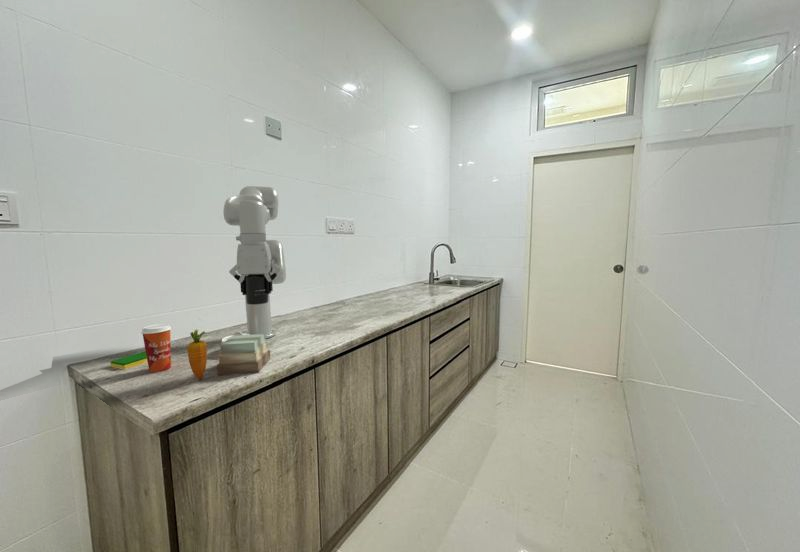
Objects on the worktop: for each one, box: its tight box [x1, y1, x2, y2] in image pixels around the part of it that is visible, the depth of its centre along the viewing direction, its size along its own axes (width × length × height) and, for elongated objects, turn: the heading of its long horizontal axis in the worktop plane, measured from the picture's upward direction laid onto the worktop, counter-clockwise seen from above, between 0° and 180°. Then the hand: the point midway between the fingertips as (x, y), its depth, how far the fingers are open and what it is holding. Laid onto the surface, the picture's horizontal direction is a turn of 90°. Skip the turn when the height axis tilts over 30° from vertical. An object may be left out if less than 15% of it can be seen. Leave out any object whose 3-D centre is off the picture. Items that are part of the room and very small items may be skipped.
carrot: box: [186, 329, 208, 381], centre depth 94 cm, size 5×5×15 cm
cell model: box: [221, 331, 250, 344], centre depth 120 cm, size 10×12×7 cm
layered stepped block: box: [216, 334, 271, 376], centre depth 104 cm, size 12×12×9 cm
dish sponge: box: [110, 351, 148, 370], centre depth 112 cm, size 7×14×2 cm, turn 160°
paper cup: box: [140, 323, 172, 373], centre depth 103 cm, size 8×8×14 cm
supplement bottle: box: [245, 274, 269, 305], centre depth 107 cm, size 7×7×12 cm
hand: (257, 293), depth 107 cm, fingers closed on supplement bottle, 6 cm apart
